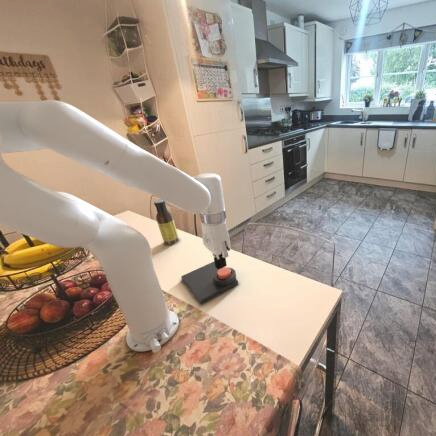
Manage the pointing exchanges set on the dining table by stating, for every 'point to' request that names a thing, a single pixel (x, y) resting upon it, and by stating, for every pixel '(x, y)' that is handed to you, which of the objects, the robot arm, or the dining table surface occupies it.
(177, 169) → the robot arm
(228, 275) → the button
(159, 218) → the sauce bottle
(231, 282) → the black flat block
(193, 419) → the dining table surface
